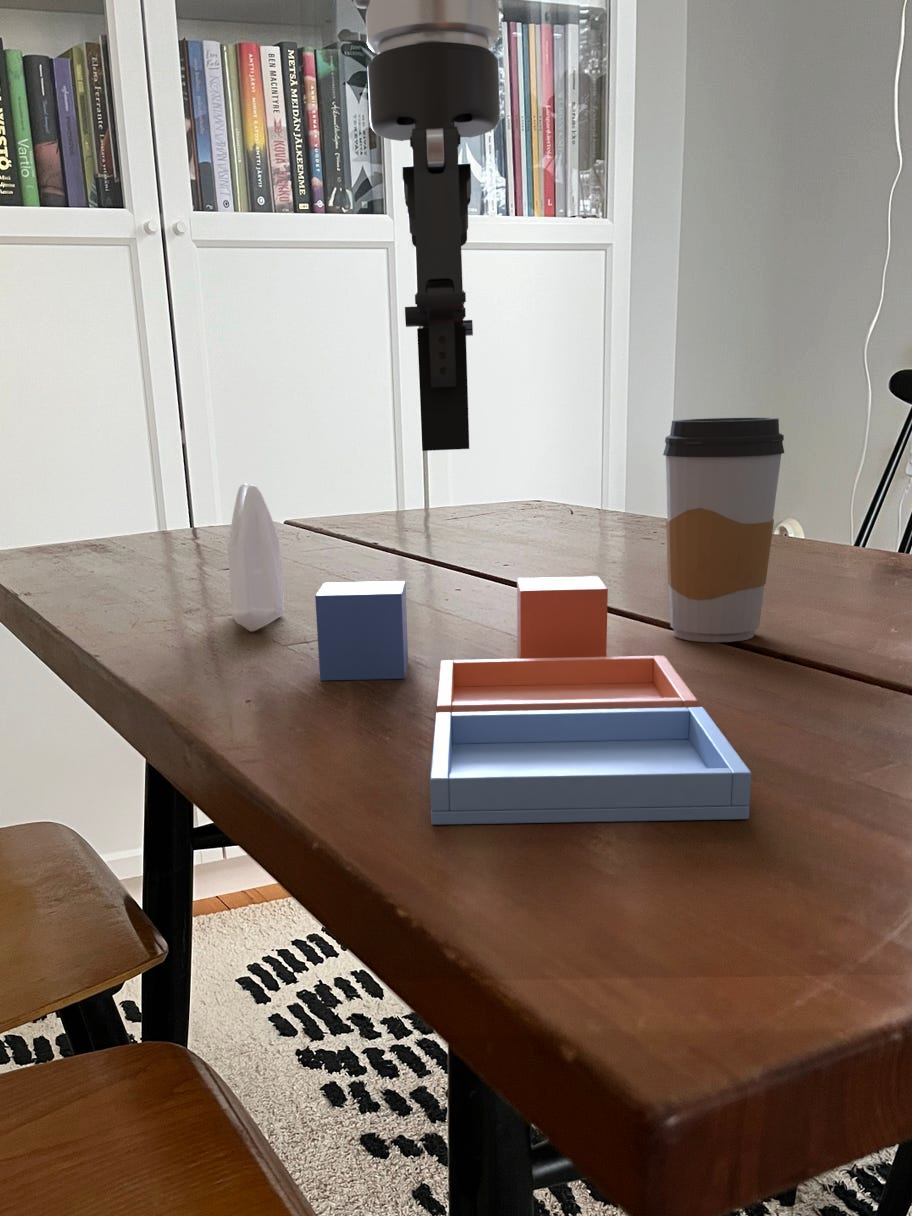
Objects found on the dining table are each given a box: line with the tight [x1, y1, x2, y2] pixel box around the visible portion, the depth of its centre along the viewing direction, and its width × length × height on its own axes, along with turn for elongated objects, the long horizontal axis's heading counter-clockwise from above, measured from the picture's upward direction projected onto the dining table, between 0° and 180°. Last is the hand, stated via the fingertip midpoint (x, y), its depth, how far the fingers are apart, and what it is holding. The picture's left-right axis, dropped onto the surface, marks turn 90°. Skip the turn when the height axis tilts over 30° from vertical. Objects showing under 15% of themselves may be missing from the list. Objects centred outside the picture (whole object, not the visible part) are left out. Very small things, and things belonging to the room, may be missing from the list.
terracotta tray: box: [436, 655, 699, 714], centre depth 71 cm, size 14×12×2 cm
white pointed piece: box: [227, 483, 286, 632], centre depth 100 cm, size 12×4×11 cm, turn 7°
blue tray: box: [429, 706, 753, 826], centre depth 59 cm, size 14×12×2 cm
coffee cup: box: [662, 417, 785, 643], centre depth 90 cm, size 8×8×15 cm
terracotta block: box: [516, 575, 609, 659], centre depth 83 cm, size 6×6×6 cm
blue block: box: [314, 580, 409, 682], centre depth 83 cm, size 6×6×6 cm
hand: (446, 445), depth 79 cm, fingers open, 13 cm apart
